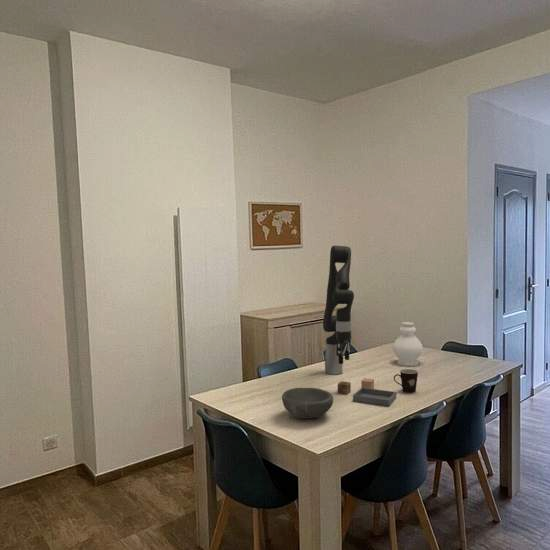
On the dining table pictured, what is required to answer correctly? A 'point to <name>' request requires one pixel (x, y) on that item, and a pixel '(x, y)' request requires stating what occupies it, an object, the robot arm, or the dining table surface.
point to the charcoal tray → (374, 396)
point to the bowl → (307, 402)
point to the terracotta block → (367, 383)
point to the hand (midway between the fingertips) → (344, 361)
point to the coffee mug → (408, 380)
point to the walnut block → (344, 387)
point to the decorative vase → (407, 345)
